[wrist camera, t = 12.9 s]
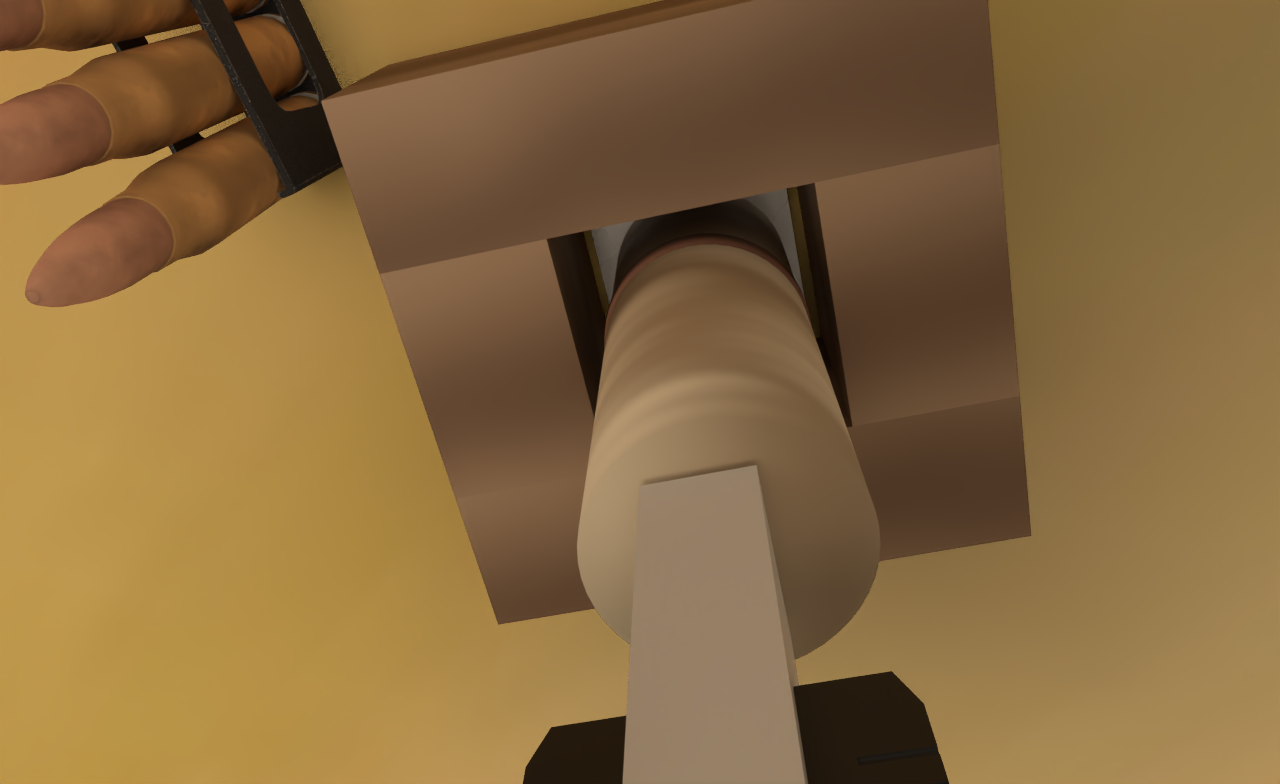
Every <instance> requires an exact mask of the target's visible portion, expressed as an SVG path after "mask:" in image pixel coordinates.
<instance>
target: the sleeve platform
mask: <svg viewBox="0 0 1280 784" xmlns="http://www.w3.org/2000/svg"><path fill="white" fill-rule="evenodd" d="M744 199H746V200H748V201H749V202H751V203H752V204H754V205H755V206H756V207H758V208H759V209H760V210H761V211H762V212H763V213H764V214H765V215H766V216H767V217H768V219H769V220H770V221H771V223H772V224H773V225H774V227H775V229H776V230H777V232H778V234H779V236H780V239H781V241H782V244H783V247H784V250H785V252H786V255H787V258H788V261H789V264H790V267H791V270H792V273H793V275H794V278H795V280H796V282H797V283H798V285H799V287H800V289H801V292H802V294H803V297H804V292H803V286H802V280H801V274H800V268H799V262H798V256H797V250H796V244H795V238H794V232H793V226H792V220H791V214H790V208H789V202H788V196H787V190H786V189H782V190H778V191H773V192H768V193H763V194H759V195H754V196H749V197H744ZM633 222H634V221H630V222H625V223H621V224H616V225H611V226H606V227H602V228H597V229H592V230H591V233H592V237H593V241H594V245H595V249H596V253H597V257H598V261H599V265H600V269H601V273H602V277H603V281H604V285H605V289H606V293H607V297H608V301H609V305H610V301H611V299H612V295H613V288H614V281H615V274H616V267H617V261H618V255H619V251H620V247H621V244H622V242H623V239H624V237H625V235H626V233H627V231H628V229H629V228H630V226H631V225H632V224H633ZM804 299H805V298H804Z"/></svg>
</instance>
